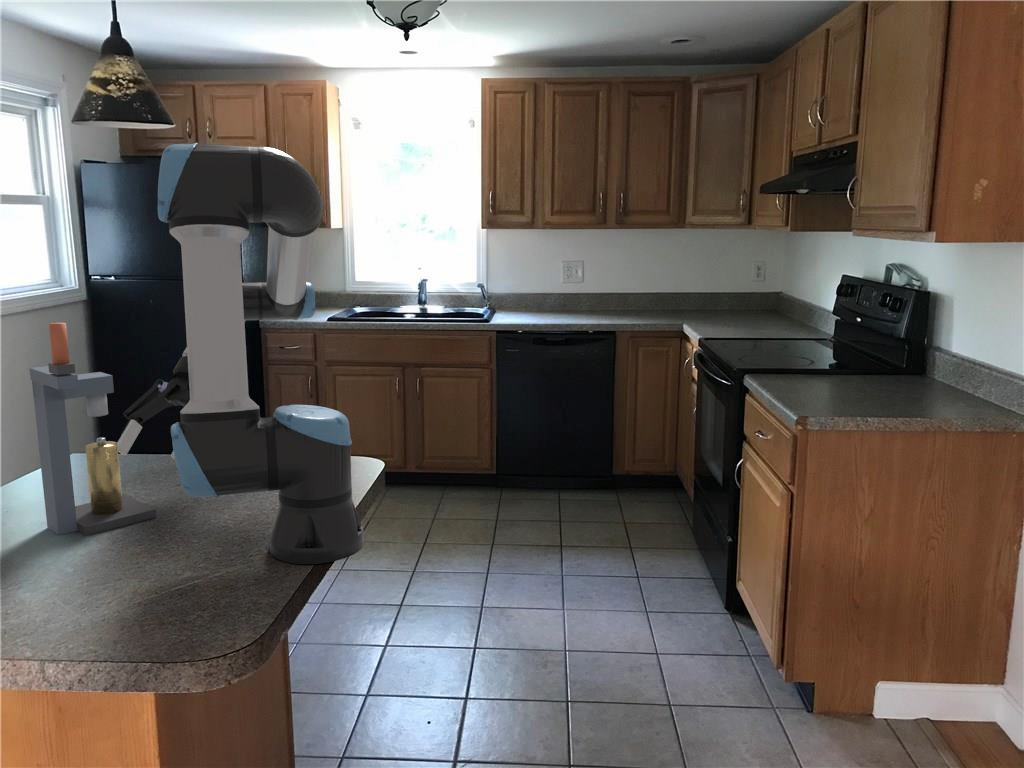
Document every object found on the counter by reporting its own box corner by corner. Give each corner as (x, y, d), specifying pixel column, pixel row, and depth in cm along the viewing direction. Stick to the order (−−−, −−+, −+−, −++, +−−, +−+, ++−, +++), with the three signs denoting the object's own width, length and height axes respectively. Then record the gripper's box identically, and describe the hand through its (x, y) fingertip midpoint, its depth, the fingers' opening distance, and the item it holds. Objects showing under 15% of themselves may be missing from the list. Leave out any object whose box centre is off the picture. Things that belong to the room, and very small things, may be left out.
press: (163, 521, 142) (151, 365, 137) (73, 545, 131) (57, 377, 126) (126, 501, 152) (114, 355, 146) (40, 522, 141) (23, 365, 135)
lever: (75, 373, 128) (70, 323, 126) (57, 375, 126) (52, 325, 124) (66, 370, 130) (61, 321, 129) (49, 372, 128) (44, 323, 127)
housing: (127, 509, 143) (121, 438, 141) (98, 516, 140) (92, 443, 137) (115, 503, 147) (109, 433, 144) (86, 510, 143) (80, 438, 140)
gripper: (259, 380, 160) (211, 473, 150) (161, 371, 169) (110, 458, 158) (240, 358, 155) (189, 453, 144) (140, 349, 163) (84, 438, 152)
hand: (147, 456), depth 151 cm, fingers open, 13 cm apart
